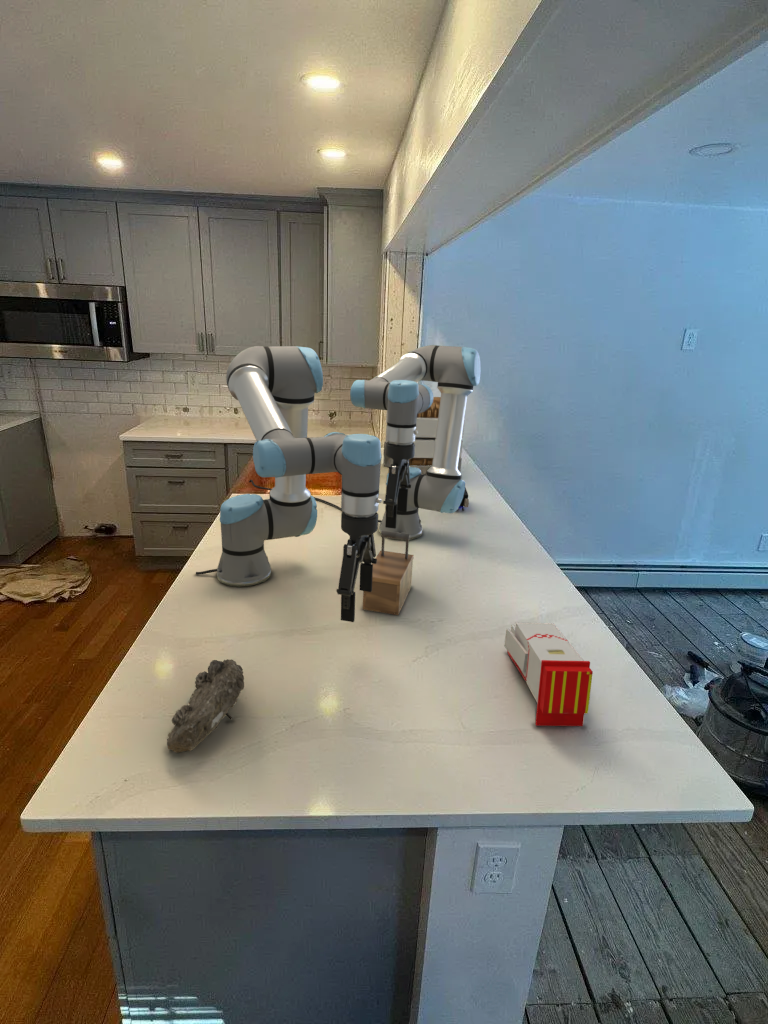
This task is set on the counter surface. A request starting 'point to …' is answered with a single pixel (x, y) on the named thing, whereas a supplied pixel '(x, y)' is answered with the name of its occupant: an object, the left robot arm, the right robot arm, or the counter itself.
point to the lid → (392, 561)
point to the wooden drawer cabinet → (424, 437)
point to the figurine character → (464, 500)
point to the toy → (551, 672)
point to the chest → (388, 595)
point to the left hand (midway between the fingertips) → (357, 604)
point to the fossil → (206, 705)
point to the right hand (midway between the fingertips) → (396, 519)
